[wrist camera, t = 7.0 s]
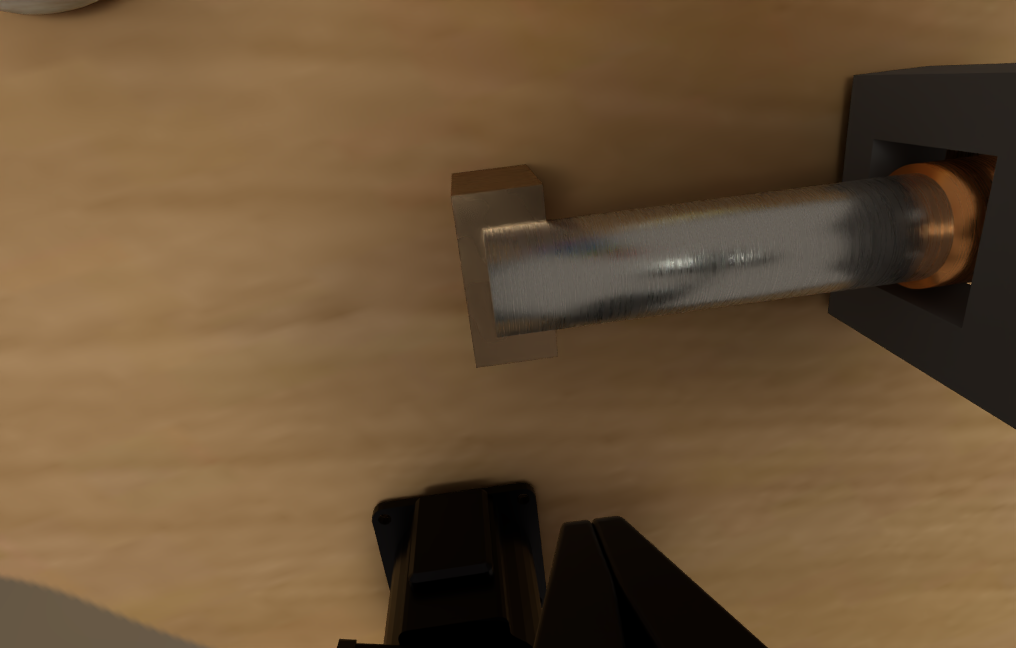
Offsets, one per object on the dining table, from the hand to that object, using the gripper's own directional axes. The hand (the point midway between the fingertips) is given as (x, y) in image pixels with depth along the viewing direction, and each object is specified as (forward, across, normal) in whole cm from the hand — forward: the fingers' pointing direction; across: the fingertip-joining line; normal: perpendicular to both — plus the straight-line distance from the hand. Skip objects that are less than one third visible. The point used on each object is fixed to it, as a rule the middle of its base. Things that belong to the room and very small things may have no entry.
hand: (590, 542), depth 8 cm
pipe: (+13, -8, -1) cm, 15 cm away
